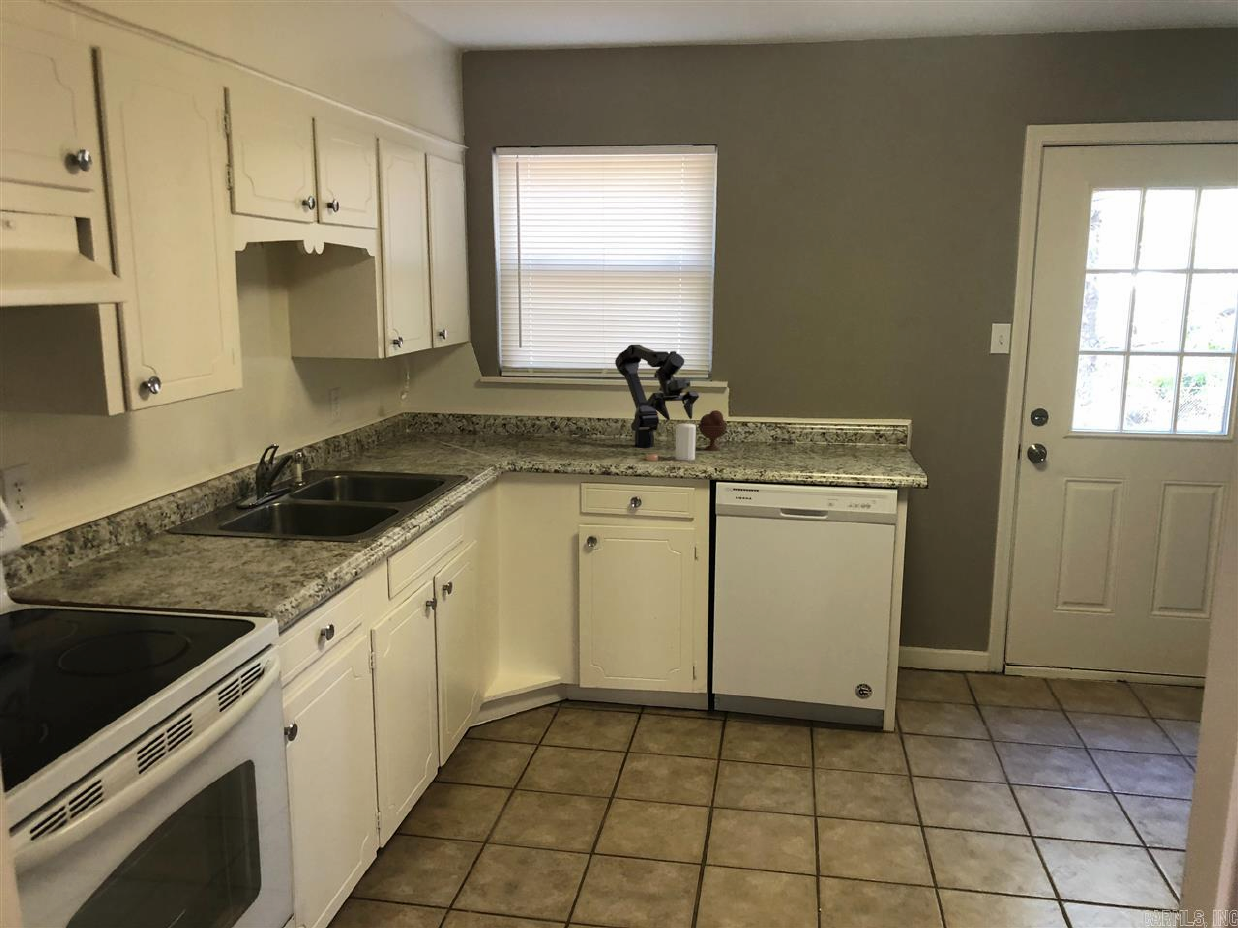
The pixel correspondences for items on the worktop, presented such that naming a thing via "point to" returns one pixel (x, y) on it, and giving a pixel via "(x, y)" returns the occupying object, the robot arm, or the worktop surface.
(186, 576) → the worktop surface
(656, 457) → the pink rounded block
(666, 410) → the robot arm
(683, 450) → the tumbler
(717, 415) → the ice cream bowl
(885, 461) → the worktop surface
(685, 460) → the mat
